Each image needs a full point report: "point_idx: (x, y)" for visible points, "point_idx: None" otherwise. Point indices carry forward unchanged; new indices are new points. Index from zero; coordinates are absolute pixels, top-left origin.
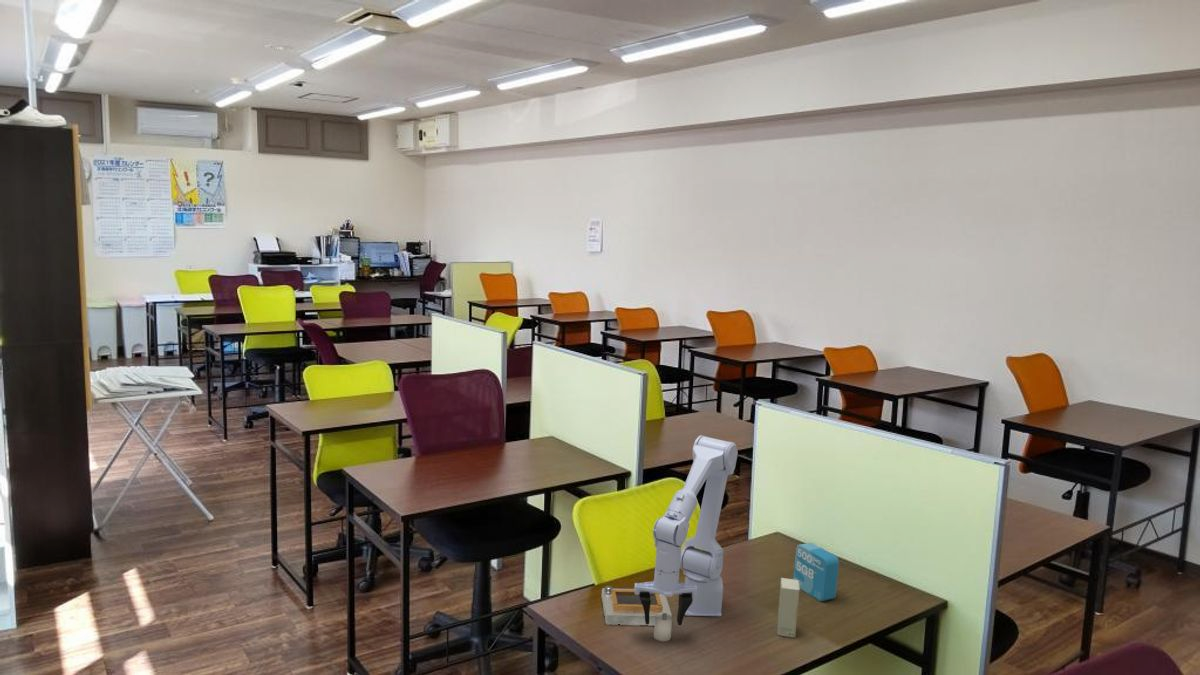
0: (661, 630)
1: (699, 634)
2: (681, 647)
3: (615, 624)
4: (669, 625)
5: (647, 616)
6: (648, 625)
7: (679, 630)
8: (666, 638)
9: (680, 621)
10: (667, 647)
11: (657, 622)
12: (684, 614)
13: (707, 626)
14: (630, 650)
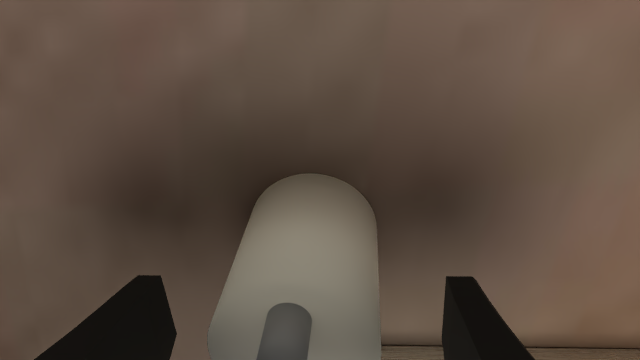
0: (323, 225)
1: (53, 265)
2: (166, 93)
3: (634, 352)
4: (243, 263)
5: (492, 332)
6: (395, 346)
7: (189, 303)
8: (282, 187)
9: (127, 296)
10: (281, 85)
11: (361, 289)
12: (46, 352)
13: (19, 344)
14: (634, 7)
